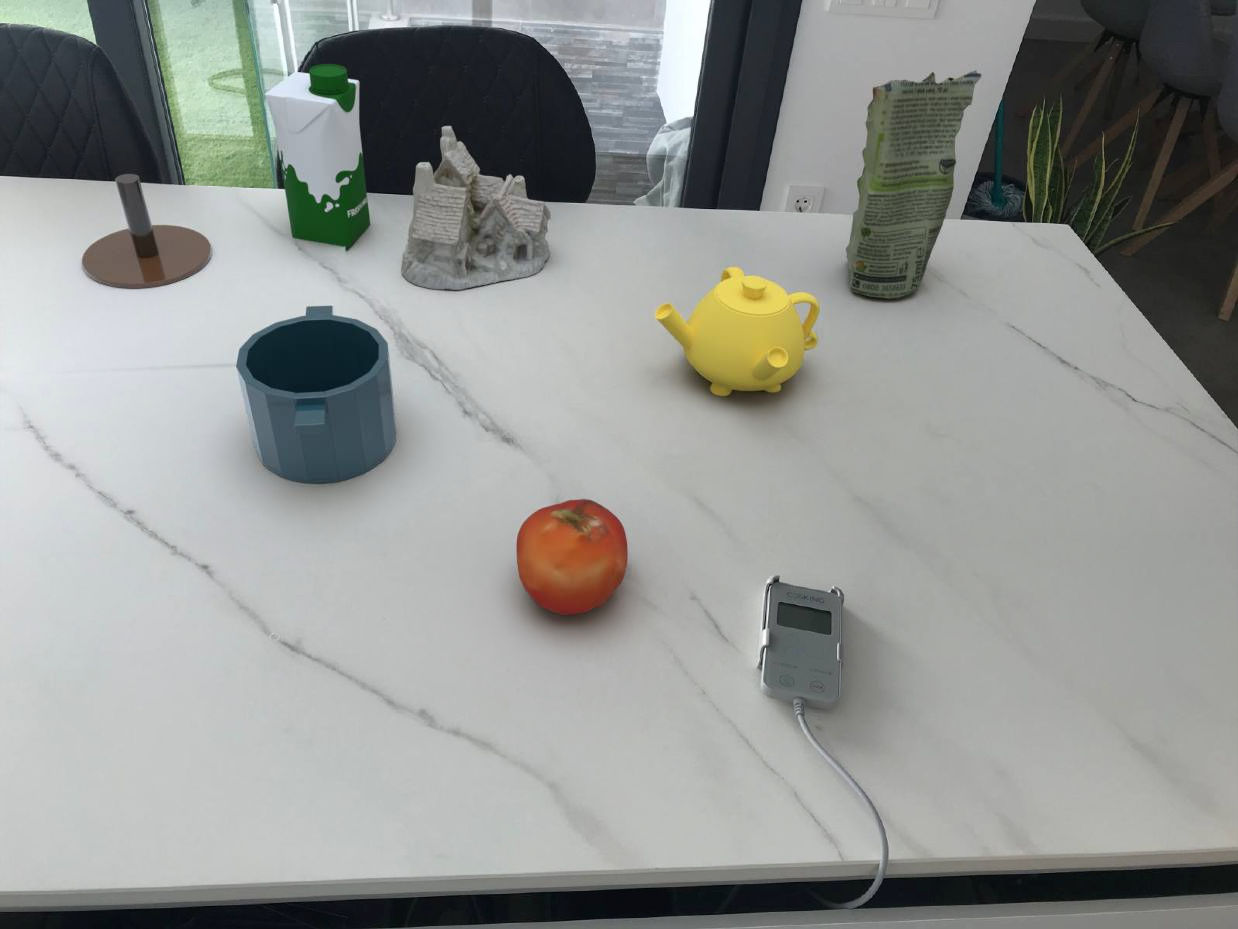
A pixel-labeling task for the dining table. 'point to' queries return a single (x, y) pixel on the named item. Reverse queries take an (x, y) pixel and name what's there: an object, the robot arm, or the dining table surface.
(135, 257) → the lid
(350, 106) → the milk carton
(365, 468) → the pot
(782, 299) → the teapot
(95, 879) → the dining table surface
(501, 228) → the ceramic cottage
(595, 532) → the tomato
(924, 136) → the pouch
